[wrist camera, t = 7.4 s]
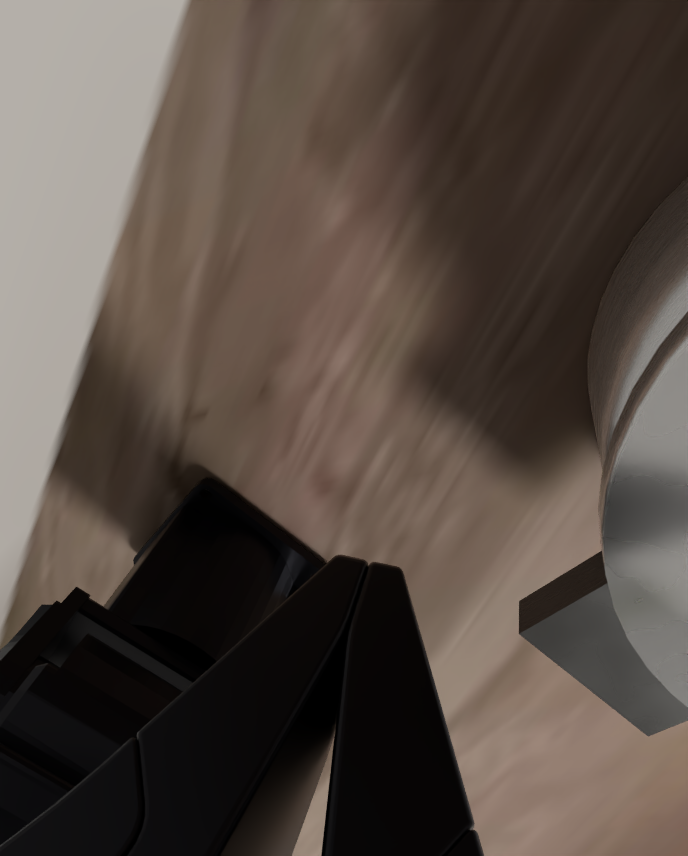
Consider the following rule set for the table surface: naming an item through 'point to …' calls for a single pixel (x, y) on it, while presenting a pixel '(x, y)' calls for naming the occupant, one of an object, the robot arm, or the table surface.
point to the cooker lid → (651, 514)
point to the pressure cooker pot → (608, 390)
